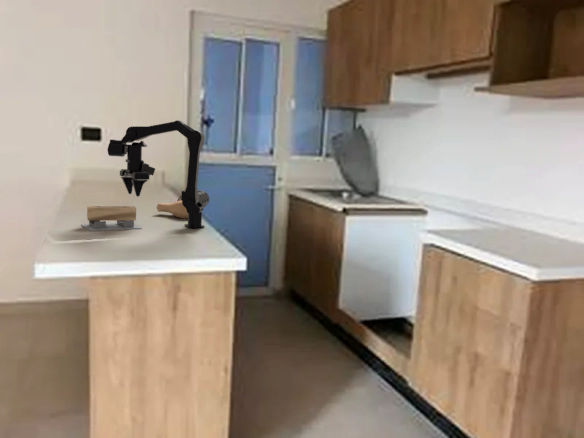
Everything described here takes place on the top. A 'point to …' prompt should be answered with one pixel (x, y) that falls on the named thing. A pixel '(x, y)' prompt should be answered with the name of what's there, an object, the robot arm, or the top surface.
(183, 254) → the top surface
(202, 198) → the muzzle brake
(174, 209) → the squash
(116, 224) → the mount board
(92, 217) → the oak rail
